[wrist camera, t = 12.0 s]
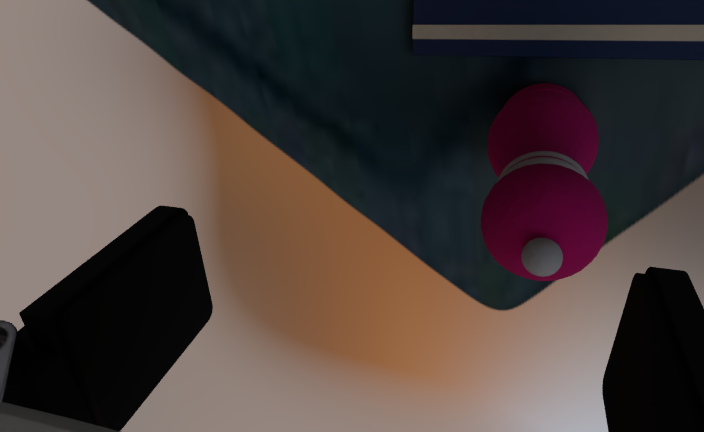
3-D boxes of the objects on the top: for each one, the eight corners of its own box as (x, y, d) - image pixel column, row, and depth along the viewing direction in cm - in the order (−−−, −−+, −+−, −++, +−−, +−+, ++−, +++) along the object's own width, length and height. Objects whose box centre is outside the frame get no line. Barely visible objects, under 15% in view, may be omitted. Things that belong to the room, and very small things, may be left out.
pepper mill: (566, 179, 40) (585, 354, 24) (478, 149, 41) (438, 296, 25) (611, 93, 36) (671, 231, 20) (513, 63, 37) (492, 169, 21)
